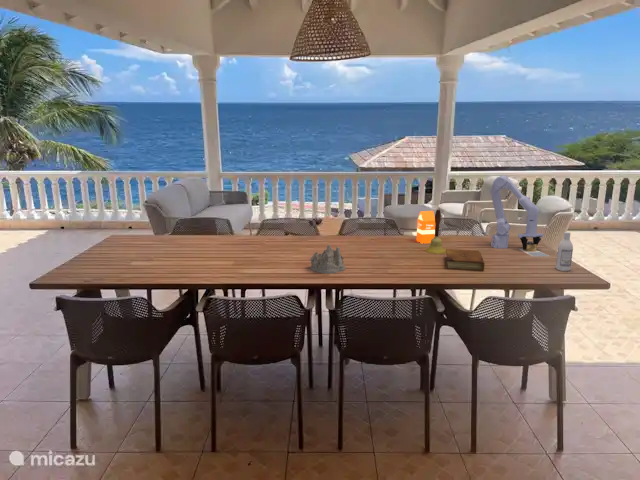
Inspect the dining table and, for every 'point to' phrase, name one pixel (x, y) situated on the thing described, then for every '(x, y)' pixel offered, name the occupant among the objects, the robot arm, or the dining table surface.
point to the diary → (464, 260)
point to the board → (534, 253)
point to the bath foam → (564, 253)
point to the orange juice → (425, 227)
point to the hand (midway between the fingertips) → (529, 249)
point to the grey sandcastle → (328, 261)
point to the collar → (530, 247)
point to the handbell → (436, 238)
